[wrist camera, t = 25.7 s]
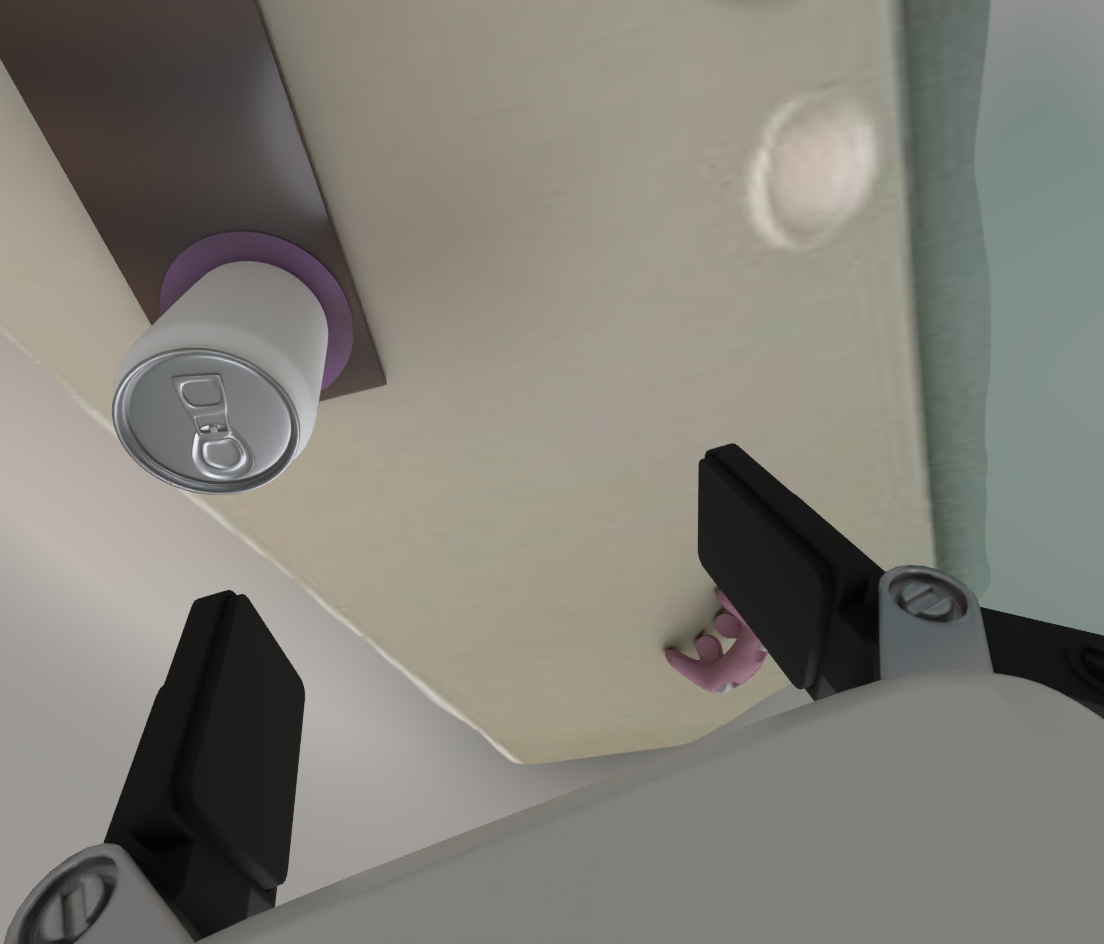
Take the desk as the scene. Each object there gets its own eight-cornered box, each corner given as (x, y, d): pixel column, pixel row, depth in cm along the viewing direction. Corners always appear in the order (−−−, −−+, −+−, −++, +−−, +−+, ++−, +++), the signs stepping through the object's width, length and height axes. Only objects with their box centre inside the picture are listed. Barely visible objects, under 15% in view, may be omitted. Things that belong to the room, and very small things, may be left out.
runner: (-404, -683, 14) (-467, -748, 13) (33, -665, 15) (8, -722, 14) (213, 421, 32) (208, 431, 31) (386, 378, 33) (387, 387, 32)
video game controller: (676, 648, 59) (728, 703, 55) (657, 657, 55) (711, 716, 51) (735, 580, 55) (793, 633, 52) (719, 585, 52) (780, 642, 48)
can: (211, 387, 30) (138, 517, 20) (170, 260, 26) (57, 342, 17) (338, 377, 31) (328, 492, 22) (316, 256, 28) (290, 328, 18)
